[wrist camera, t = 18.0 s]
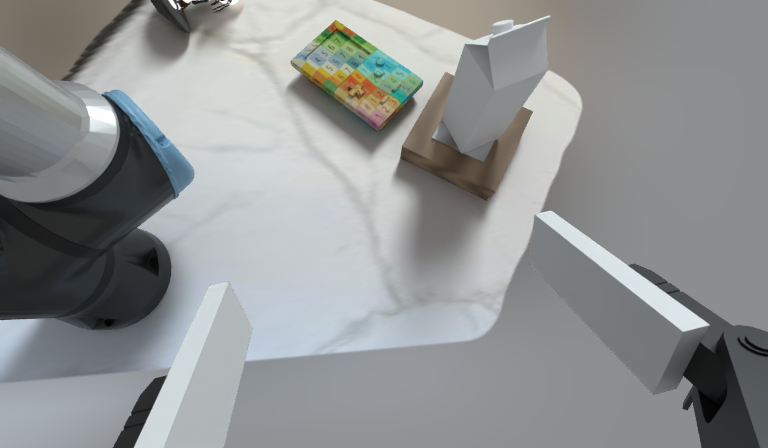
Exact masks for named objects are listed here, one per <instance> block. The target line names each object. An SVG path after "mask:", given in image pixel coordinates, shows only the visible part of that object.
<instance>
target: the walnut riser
mask: <svg viewBox="0 0 768 448" xmlns="http://www.w3.org/2000/svg"><path fill="white" fill-rule="evenodd" d="M453 79H454V76H453V75H451V74H449V73H447V72H445V73H444V75H443V77H442V79H441V80H440V82H439V84H438V85H437V87H436V89H435V91H434V92H433V94H432V96H431V97H430V99H429V101H428V103H427V104H426V106H425V108H424V109H423V111H422V113H421V115H420V116H419V118H418V120H417V121H416V123H415V125H414V127H413V128H412V130H411V132H410V133H409V135H408V137H407V139H406V140H405V142H404V144H403V145H402V150H401V157H400V158H402V159H404V160H406V161H408V162H410V163H412V164H414V165H416V166H418V167H420V168H422V169H424V170H426V171H428V172H430V173H432V174H434V175H436V176H438V177H440V178H442V179H444V180H446V181H448V182H450V183H452V184H454V185H456V186H458V187H461V188H463V189H465V190H467V191H469V192H471V193H473V194H475V195H477V196H479V197H481V198H483V199H485V200H487V199H488V198H489V197H490V196H491V195H492V194H493V193H494V192H495V191H496V189H497V187H498V184H499V182H500V180H501V178H502V176H503V174H504V172H505V170H506V168H507V165H508V163H509V161H510V159H511V157H512V155H513V153H514V151H515V149H516V146H517V144H518V142H519V140H520V138H521V136H522V134H523V132H524V130H525V127H526V125H527V123H528V121H529V119H530V117H531V115H532V113H533V111H531V110H528V109H526V108H524V107H522V108H521V109H520V110H519V112H518V113H517V115H516V116H515V118H514V119H513V120H512V122H511V123H510V125H509V126H508V128H507V129H506V130H505V132H504V133H503V135H502V136H501V137H500V138H499V139H497V140H494V141H492V142H489V143H487V144H485V145H482V146H480V147H477V148H475V149H472V150H470V151H468V152H465V153H461V152H460V150H459V148H458V147H457V145H456V143H455V141H454V140H453V138H452V136H451V134H450V132H449V131H448V129H447V127H446V125H445V124H444V122H443V120H442V118H441V117H442V113H443V110H444V107H445V104H446V101H447V98H448V95H449V92H450V89H451V86H452V82H453Z"/></svg>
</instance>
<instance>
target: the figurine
mask: <svg viewBox="0 0 768 448" xmlns="http://www.w3.org/2000/svg"><path fill="white" fill-rule="evenodd" d="M191 1H192V3H193V4H194V5H196V4H198V3H202V2H208V1H209V0H180V1H179V0H151V2H152V3H153V5H154V6H155V8H156V9H157V10H158V12H160V13H161V14H162V15H163V16H165V17H166V18H168V19H169V20H171V21H172V22H174V23H175V24H176V25H177V26H178V27H179V28H180V29H181V30H182V31H184V32H186V33H190V27H189V25H188V22H187V19H186V16H185V14H184V11H183V9H185V8H186V7H187V6H188V5H189V4H190V3H191ZM238 1H239V0H218V1H216V0H215V2H214V3H212V4H211V5H215V4H216V3H218V2H222V3H223V5H221V6H218V7H217V8H215V9H213V10H216V9H218V8H220V7H222V6H224V5H227V6H229V5H232V4H235V3H236V2H238ZM211 5H210V6H211ZM227 6H225V7H223V8H221V9H220V10H222V9H224V8H226V7H227ZM182 7H184V8H182ZM220 10H218V11H220ZM216 12H217V11H216ZM214 13H215V12H214Z"/></svg>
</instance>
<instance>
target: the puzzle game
mask: <svg viewBox="0 0 768 448" xmlns="http://www.w3.org/2000/svg"><path fill="white" fill-rule="evenodd" d="M290 62H291V64H292V66H293V67H294V68H295V69H296V70H298V71H299V72H300V73H302V74H303V75H304V76H306V77H307V78H308V79H310V80H311V81H312V82H313V83H315V84H316V85H317V86H319V87H320V88H321V89H323V90H324V91H325V92H327V93H328V94H329V95H331V96H332V97H333V98H335V99H336V100H337V101H339V102H340V103H341V104H343V105H344V106H345V107H347V108H348V109H349V110H351V111H352V112H353V113H355V114H356V115H357V116H359V117H360V118H361V119H363V120H364V121H365V122H367V123H368V124H369V125H371V126H372V127H373V128H375V129H376V130H377V131H380V130H381V129H382V128H383V127H384V126H385V125H386V124H387V123H388V122H389V121H390V120H391V119H392V117H393V116H394V115H395V114H396V113H397V112H398V111H399V110H400V109H401V108H402V107H403V106H404V105H405V104H406V103H407V102H408V101H409V100H410V98H411V97H412V96H413V95H414V94H415V93H416V92H417V91H418V90H419V89H420V88H421V87H422V85H423V80H422V79H421V78H420V77H418V76H417V75H415V74H414V73H412V72H411V71H409V70H408V69H407V68H405V67H404V66H402V65H401V64H399V63H398V62H396V61H395V60H393V59H392V58H391V57H389V56H388V55H386V54H385V53H383V52H382V51H380V50H379V49H377V48H376V47H374V46H373V45H372V44H370V43H369V42H367V41H366V40H364V39H363V38H361V37H360V36H358V35H357V34H356V33H354V32H353V31H351V30H350V29H348V28H347V27H345V26H344V25H342V24H341V23H339V22H338V21H337V20H335V21H334V22H333V23H332V24H331V25H330V26H329V27H328V28H327V29H325V30H324V31H323V32H322V33H321V34H320V35H319V36H318V37H317V38H315V39H314V40H313V41H312V42H311V43H310V44H309V45H308V46H307V47H305V48H304V49H303V50H302V51H301V52H300V53H299V54H298V55H297V56H296V57H294V58H293V59H292V60H291V61H290Z"/></svg>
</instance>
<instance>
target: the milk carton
mask: <svg viewBox="0 0 768 448" xmlns="http://www.w3.org/2000/svg"><path fill="white" fill-rule="evenodd" d="M549 18H550V16H546V17H543V18H541V19H538V20H535V21H532V22H530V23H527V24H519V25H515V26H513V20H504V21H500V22H497V23H495V24H493V25H492V30H493V32H492V33H493V34H490V35H488V36H485V37H482V38H479V39H477V40H474V41H471V42H468V43H466V44H465V46H464V48H463V52H462V55H461V58H460V61H459V64H458V67H457V70H456V73H455V76H454V79H453V82H452V86H451V89H450V92H449V95H448V98H447V101H446V104H445V107H444V110H443V113H442V117H441V118H442V120H443V122H444V124H445V125H446V127H447V129H448V131H449V132H450V134H451V136H452V138H453V140H454V141H455V143H456V145H457V147H458V148H459V150H460V152H461V153H465V152H468V151H470V150H472V149H475V148H477V147H480V146H482V145H485V144H487V143H489V142H492V141H494V140H497V139H499V138H500V137H501V136H502V135H503V133H504V132H505V130H506V129H507V128H508V126H509V125H510V123H511V122H512V120H513V119H514V118H515V116H516V115H517V113H518V112H519V110H520V109H521V108H522V106H523V105H524V103H525V102H526V100H527V99H528V98H529V96H530V95H531V93H532V92H533V90H534V89H535V88H536V86H537V85H538V83H539V82H540V80H541V79H542V78H543V76H544V75H545V73H546V72H547V70H548V58H547V57H548V56H547V41H546V23H547V22H548V20H549Z"/></svg>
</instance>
